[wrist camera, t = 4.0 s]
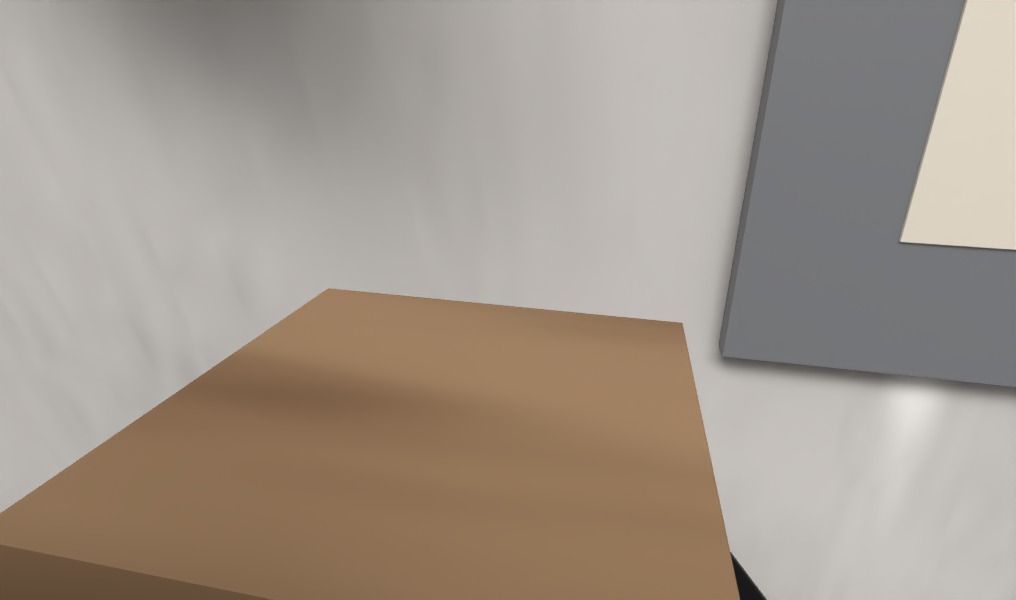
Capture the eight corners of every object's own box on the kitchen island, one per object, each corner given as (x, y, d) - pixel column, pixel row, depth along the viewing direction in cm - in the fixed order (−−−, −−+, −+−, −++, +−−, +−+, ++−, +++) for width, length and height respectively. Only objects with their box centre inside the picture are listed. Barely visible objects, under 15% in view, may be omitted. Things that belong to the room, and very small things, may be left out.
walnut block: (640, 606, 9) (649, 1113, 5) (352, 553, 10) (126, 938, 6) (682, 323, 8) (761, 699, 3) (328, 288, 8) (-35, 536, 4)
